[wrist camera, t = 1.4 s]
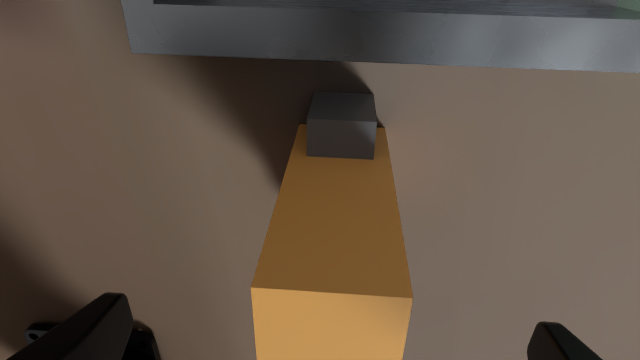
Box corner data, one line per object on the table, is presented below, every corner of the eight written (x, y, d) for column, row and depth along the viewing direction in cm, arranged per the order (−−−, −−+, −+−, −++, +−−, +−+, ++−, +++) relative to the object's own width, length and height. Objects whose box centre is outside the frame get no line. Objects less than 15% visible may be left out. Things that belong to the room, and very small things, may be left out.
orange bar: (299, 220, 17) (262, 418, 10) (299, 90, 14) (246, 235, 7) (374, 225, 17) (389, 428, 10) (388, 94, 14) (422, 247, 7)
